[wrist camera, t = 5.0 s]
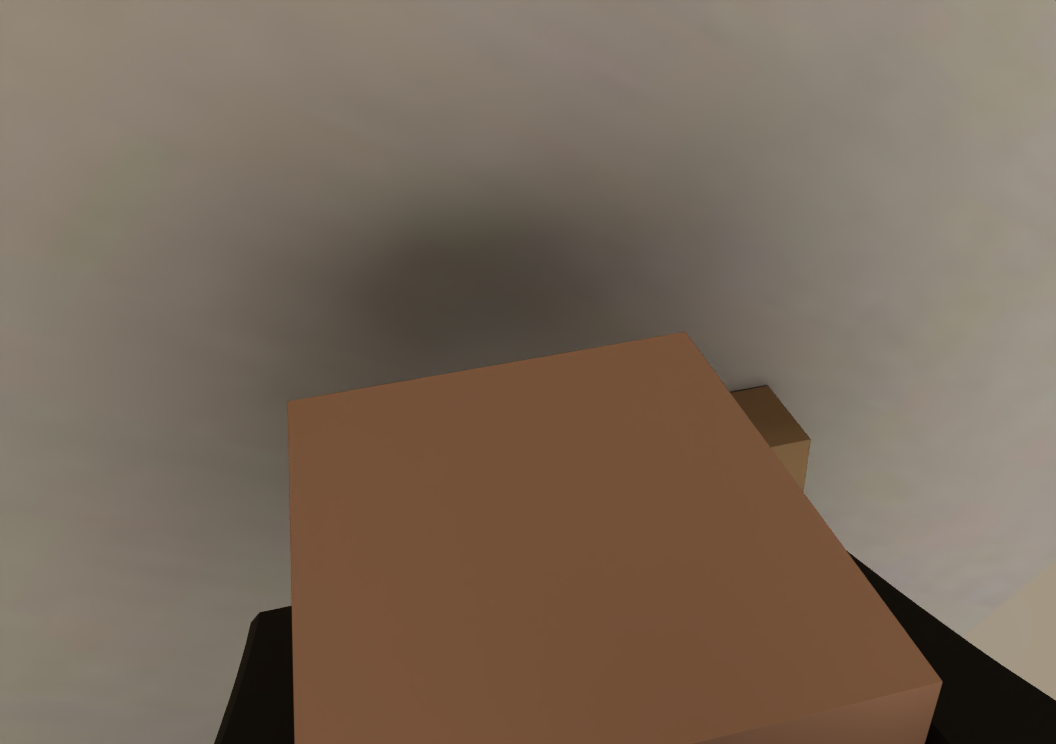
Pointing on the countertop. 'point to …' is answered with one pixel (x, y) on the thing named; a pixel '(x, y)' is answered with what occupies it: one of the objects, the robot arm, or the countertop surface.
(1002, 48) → the countertop surface
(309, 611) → the block
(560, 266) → the countertop surface
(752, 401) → the base slab
